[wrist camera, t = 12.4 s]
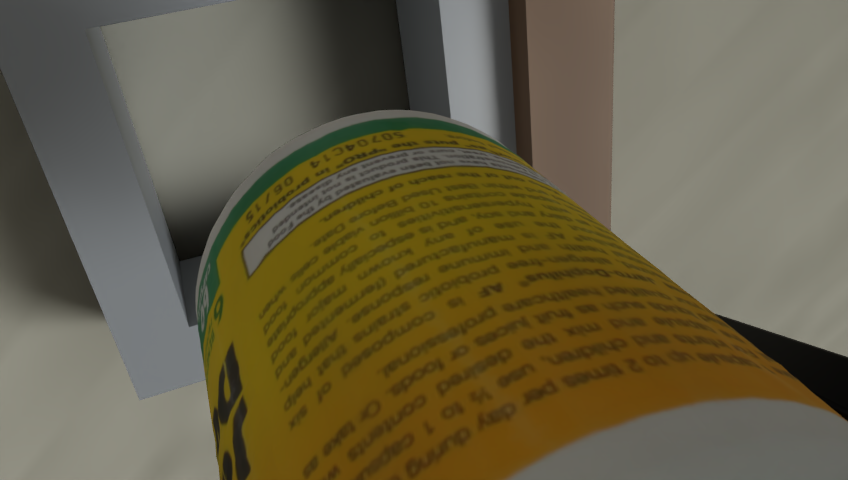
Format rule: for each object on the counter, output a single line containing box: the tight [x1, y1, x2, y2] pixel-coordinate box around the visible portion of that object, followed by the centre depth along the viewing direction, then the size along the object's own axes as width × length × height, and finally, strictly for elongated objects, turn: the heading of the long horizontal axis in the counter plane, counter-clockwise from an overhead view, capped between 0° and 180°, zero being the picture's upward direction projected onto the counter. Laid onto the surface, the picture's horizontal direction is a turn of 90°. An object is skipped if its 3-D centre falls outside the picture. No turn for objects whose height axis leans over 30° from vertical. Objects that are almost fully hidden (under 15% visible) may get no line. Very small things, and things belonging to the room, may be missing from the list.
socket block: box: [0, 0, 517, 400], centre depth 16 cm, size 10×10×3 cm
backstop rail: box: [508, 0, 615, 231], centre depth 18 cm, size 2×22×4 cm, turn 7°
